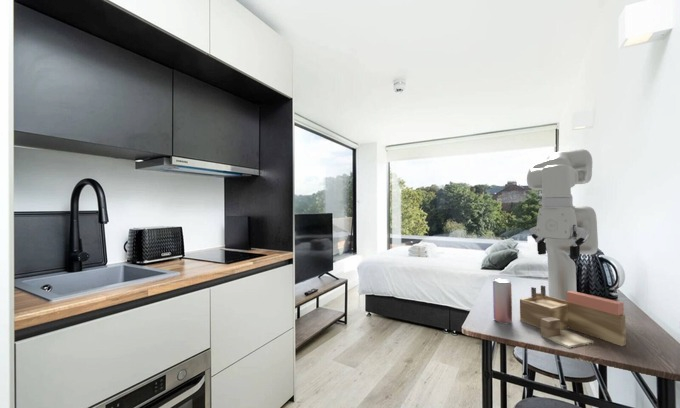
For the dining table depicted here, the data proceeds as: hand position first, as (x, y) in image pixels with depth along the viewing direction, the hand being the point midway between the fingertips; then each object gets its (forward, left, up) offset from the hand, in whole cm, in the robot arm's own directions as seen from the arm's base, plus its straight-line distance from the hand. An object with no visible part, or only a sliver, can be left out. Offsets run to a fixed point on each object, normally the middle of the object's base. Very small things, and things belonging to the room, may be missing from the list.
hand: (557, 256), depth 93 cm
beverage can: (+4, -17, -26) cm, 32 cm away
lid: (-1, +2, -27) cm, 27 cm away
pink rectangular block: (-12, +4, -17) cm, 21 cm away
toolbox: (-9, -2, -26) cm, 28 cm away
